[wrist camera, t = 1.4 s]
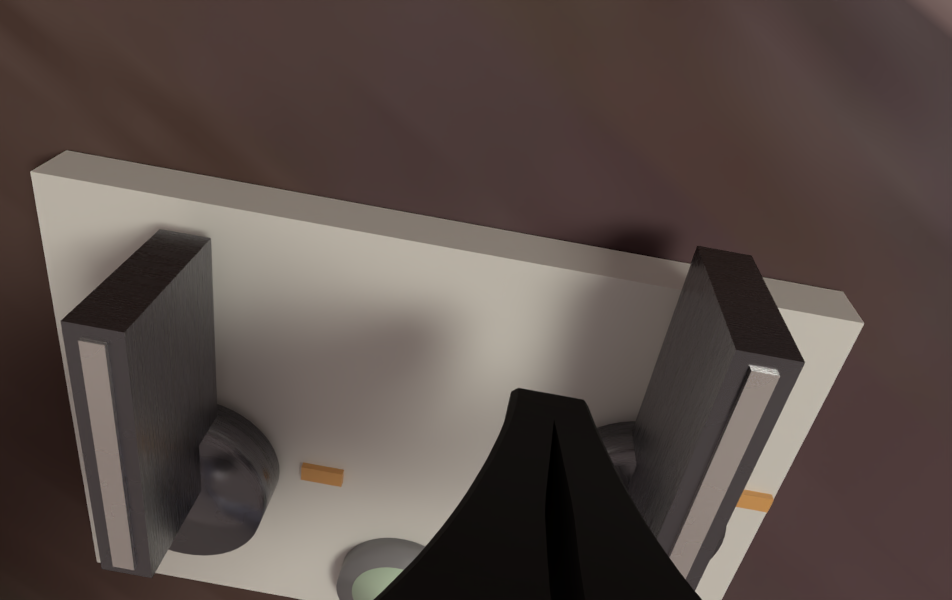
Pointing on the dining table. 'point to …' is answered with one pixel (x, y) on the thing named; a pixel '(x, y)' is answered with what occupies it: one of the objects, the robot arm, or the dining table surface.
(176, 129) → the dining table surface
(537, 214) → the dining table surface
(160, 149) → the dining table surface
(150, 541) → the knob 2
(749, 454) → the knob
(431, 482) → the base
